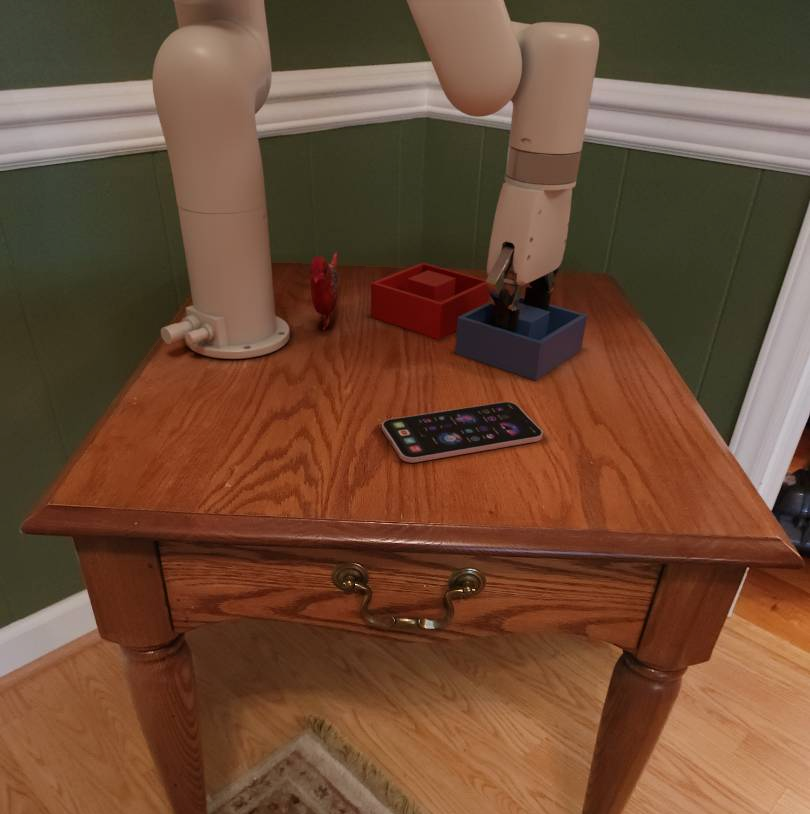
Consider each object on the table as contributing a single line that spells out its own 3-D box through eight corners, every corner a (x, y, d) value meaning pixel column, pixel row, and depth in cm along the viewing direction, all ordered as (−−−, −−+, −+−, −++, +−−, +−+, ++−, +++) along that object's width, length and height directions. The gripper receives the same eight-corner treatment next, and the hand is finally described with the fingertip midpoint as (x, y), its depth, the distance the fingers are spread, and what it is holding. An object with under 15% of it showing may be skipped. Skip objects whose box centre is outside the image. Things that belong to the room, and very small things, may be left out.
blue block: (525, 359, 86) (530, 322, 83) (493, 348, 88) (497, 312, 85) (544, 347, 89) (550, 311, 86) (513, 337, 91) (517, 302, 88)
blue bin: (535, 381, 83) (541, 343, 80) (454, 353, 88) (457, 317, 85) (581, 350, 90) (587, 314, 87) (503, 326, 95) (507, 292, 92)
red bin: (439, 339, 91) (441, 304, 88) (370, 316, 96) (370, 282, 93) (487, 314, 98) (491, 281, 95) (421, 294, 103) (422, 262, 100)
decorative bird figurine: (306, 346, 88) (301, 262, 82) (327, 295, 102) (325, 219, 96) (330, 348, 88) (327, 264, 82) (348, 296, 102) (346, 220, 96)
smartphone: (378, 420, 73) (512, 400, 77) (378, 425, 73) (512, 404, 77) (404, 459, 67) (547, 435, 72) (404, 464, 68) (546, 440, 72)
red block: (433, 321, 94) (435, 286, 91) (406, 312, 96) (407, 278, 94) (453, 311, 97) (455, 277, 94) (426, 303, 99) (428, 270, 96)
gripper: (550, 150, 83) (527, 304, 95) (466, 173, 72) (451, 344, 84) (610, 161, 80) (579, 319, 91) (531, 187, 69) (507, 363, 80)
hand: (518, 329), depth 87 cm, fingers open, 6 cm apart
